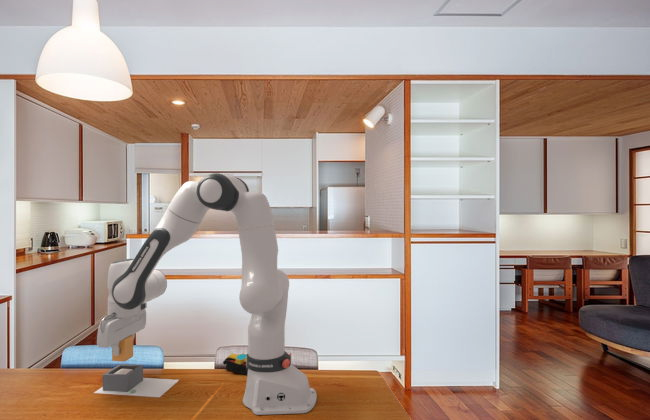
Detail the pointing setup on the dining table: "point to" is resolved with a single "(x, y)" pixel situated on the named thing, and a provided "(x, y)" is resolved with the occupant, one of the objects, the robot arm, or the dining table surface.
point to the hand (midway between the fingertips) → (122, 351)
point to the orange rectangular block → (124, 349)
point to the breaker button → (124, 371)
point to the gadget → (236, 363)
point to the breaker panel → (133, 383)
